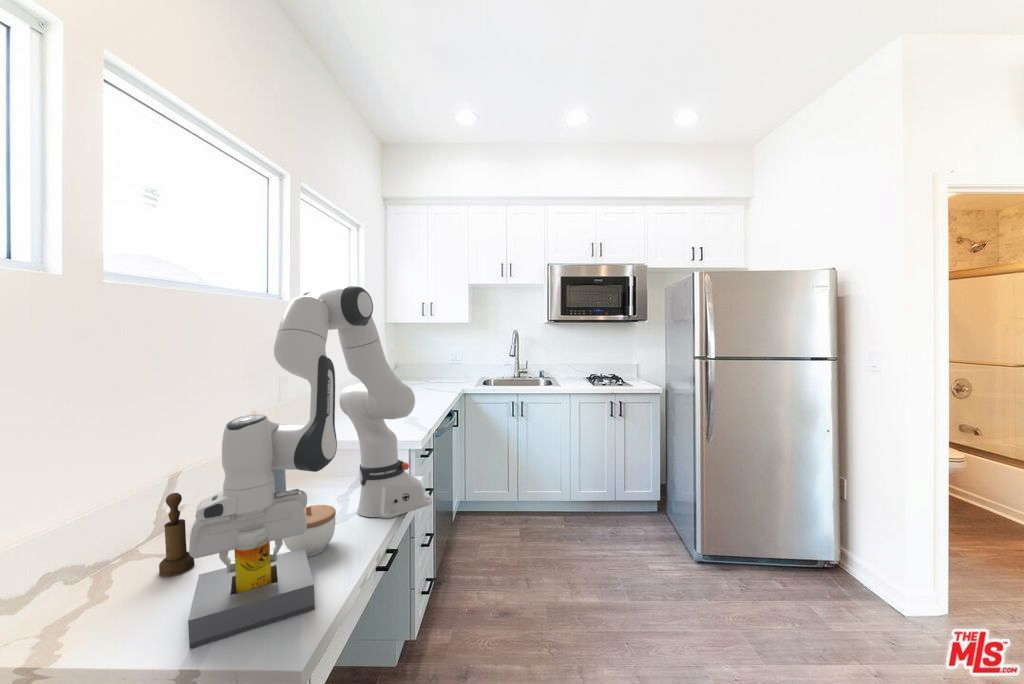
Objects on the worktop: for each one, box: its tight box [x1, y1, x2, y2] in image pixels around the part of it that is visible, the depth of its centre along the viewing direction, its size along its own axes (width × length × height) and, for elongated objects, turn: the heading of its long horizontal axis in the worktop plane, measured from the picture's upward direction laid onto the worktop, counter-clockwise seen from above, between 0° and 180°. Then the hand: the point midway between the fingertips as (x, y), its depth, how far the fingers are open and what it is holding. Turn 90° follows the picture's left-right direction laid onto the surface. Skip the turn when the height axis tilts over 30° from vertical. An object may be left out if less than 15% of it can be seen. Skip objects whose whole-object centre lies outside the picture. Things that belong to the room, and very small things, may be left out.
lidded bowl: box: [283, 504, 337, 558], centre depth 112 cm, size 13×13×11 cm
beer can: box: [233, 526, 272, 594], centre depth 89 cm, size 6×6×15 cm
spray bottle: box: [272, 469, 287, 493], centre depth 152 cm, size 9×9×25 cm
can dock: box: [187, 548, 316, 650], centre depth 90 cm, size 20×18×5 cm
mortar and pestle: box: [158, 492, 195, 577], centre depth 105 cm, size 7×6×18 cm
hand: (252, 565), depth 89 cm, fingers closed on beer can, 6 cm apart
